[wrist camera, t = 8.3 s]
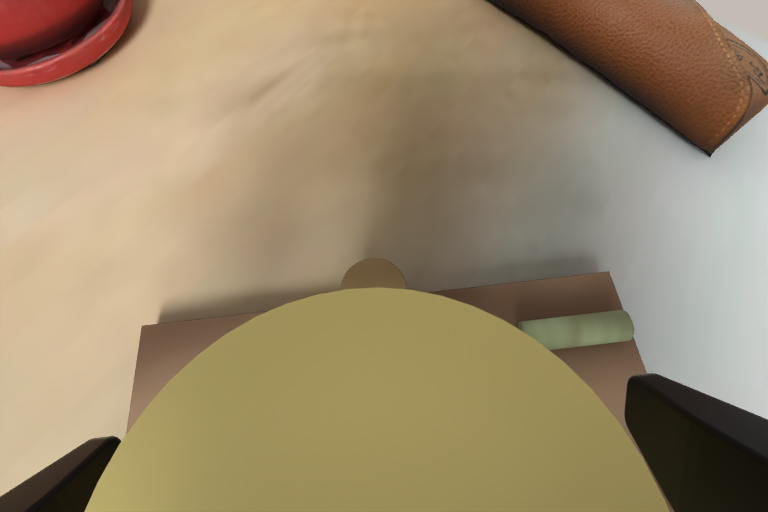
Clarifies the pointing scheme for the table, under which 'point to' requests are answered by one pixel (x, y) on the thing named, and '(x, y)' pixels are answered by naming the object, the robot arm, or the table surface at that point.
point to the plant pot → (56, 37)
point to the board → (506, 301)
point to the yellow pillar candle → (376, 419)
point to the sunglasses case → (661, 59)
